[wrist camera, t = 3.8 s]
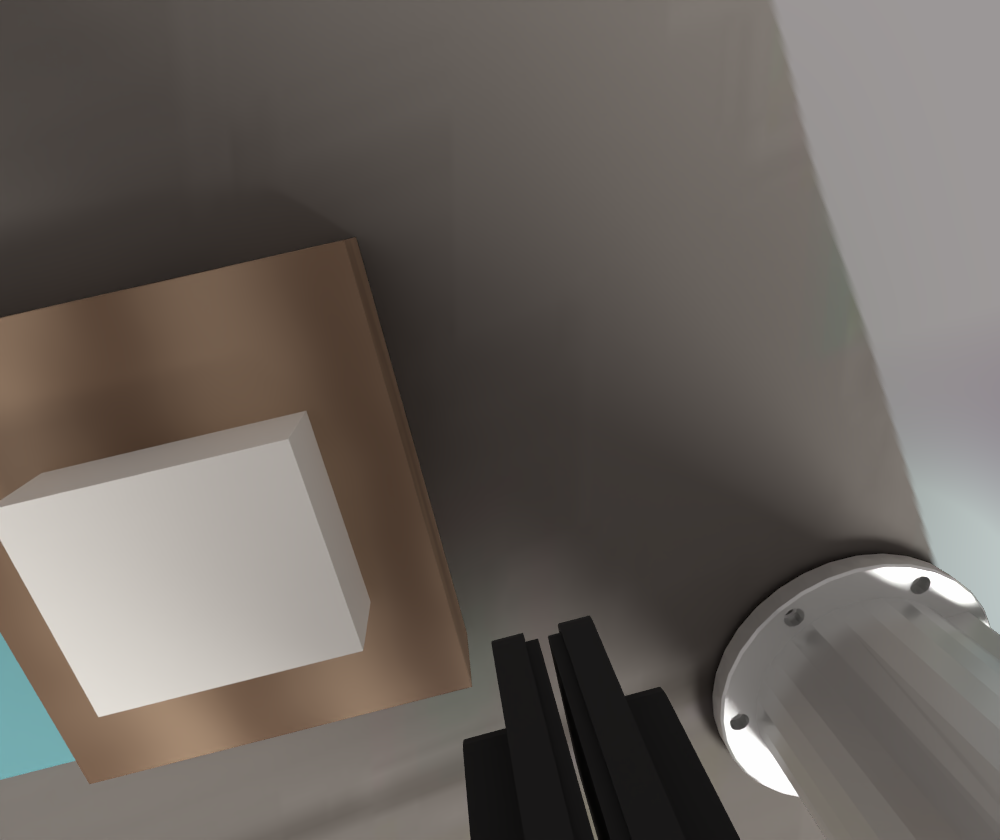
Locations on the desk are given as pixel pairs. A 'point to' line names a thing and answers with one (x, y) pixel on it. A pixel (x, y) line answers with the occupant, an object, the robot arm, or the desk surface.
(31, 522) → the tile
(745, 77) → the desk surface
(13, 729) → the mat
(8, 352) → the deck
